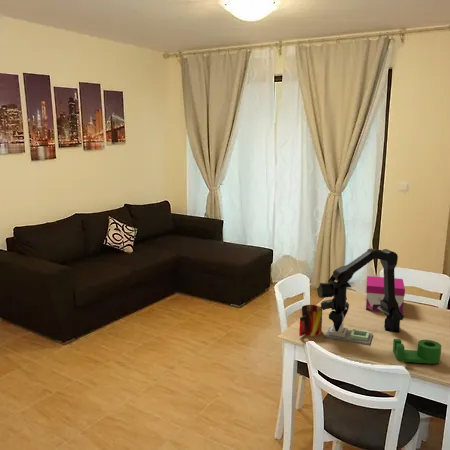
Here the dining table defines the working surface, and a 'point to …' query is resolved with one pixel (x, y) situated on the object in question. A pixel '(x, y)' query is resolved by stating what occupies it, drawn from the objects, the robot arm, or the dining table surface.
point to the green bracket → (418, 352)
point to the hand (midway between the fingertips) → (338, 327)
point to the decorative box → (382, 293)
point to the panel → (350, 335)
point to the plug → (340, 327)
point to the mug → (311, 320)
